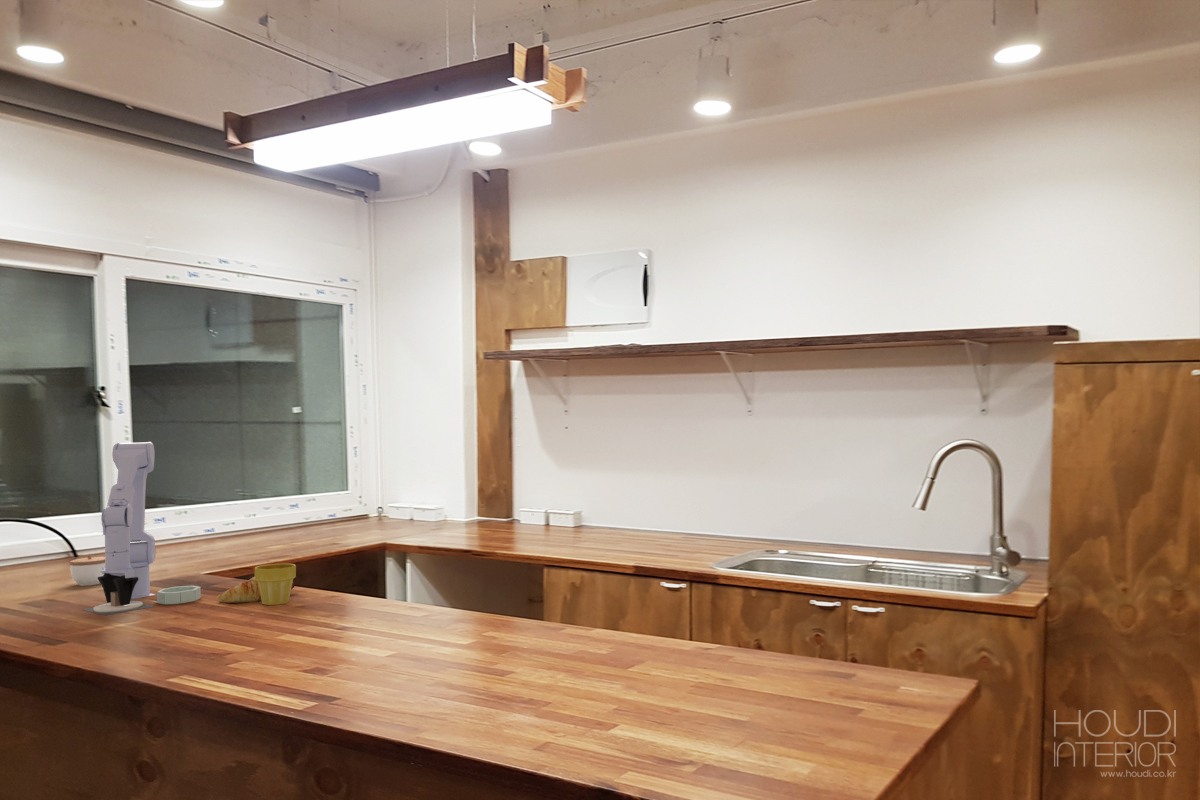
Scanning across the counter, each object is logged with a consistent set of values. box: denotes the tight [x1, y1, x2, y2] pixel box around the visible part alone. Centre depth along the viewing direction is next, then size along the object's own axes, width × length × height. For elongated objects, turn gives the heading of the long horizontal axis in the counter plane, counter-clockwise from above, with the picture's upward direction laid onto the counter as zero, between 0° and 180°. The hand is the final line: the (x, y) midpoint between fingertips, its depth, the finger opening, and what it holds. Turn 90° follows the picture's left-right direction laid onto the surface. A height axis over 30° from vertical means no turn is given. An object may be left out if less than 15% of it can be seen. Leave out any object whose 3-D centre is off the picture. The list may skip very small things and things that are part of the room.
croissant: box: [216, 576, 296, 604], centre depth 234 cm, size 21×10×8 cm, turn 135°
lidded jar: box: [69, 553, 105, 587], centre depth 269 cm, size 11×11×9 cm
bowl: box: [156, 585, 202, 605], centre depth 232 cm, size 10×10×4 cm
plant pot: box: [254, 562, 297, 606], centre depth 227 cm, size 10×10×10 cm
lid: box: [93, 591, 143, 613], centre depth 223 cm, size 11×11×4 cm
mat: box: [82, 603, 155, 616], centre depth 223 cm, size 14×12×1 cm
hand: (118, 603), depth 223 cm, fingers open, 7 cm apart
